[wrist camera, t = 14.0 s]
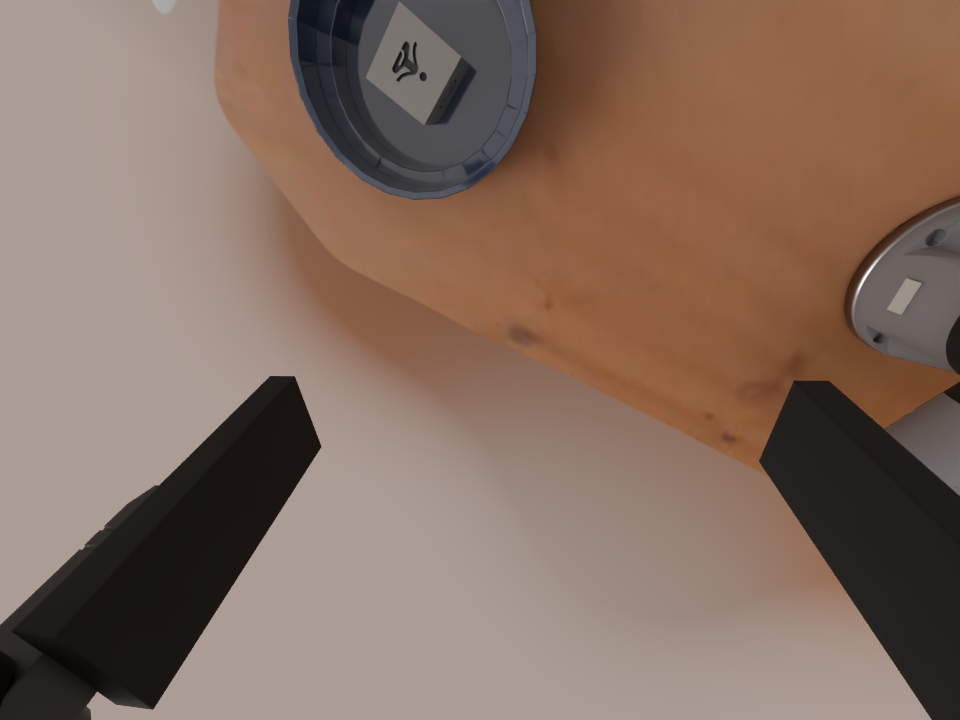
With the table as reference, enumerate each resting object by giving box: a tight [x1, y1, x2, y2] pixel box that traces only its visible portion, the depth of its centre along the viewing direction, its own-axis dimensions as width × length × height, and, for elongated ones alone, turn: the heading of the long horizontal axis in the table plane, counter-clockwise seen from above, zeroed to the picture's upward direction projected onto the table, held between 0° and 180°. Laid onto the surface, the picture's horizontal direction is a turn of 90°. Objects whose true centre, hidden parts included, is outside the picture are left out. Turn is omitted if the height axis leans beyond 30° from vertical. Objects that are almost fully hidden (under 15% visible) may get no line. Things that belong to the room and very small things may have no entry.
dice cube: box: [366, 1, 470, 125], centre depth 29 cm, size 5×5×5 cm
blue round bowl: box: [288, 0, 537, 200], centre depth 29 cm, size 17×17×6 cm
